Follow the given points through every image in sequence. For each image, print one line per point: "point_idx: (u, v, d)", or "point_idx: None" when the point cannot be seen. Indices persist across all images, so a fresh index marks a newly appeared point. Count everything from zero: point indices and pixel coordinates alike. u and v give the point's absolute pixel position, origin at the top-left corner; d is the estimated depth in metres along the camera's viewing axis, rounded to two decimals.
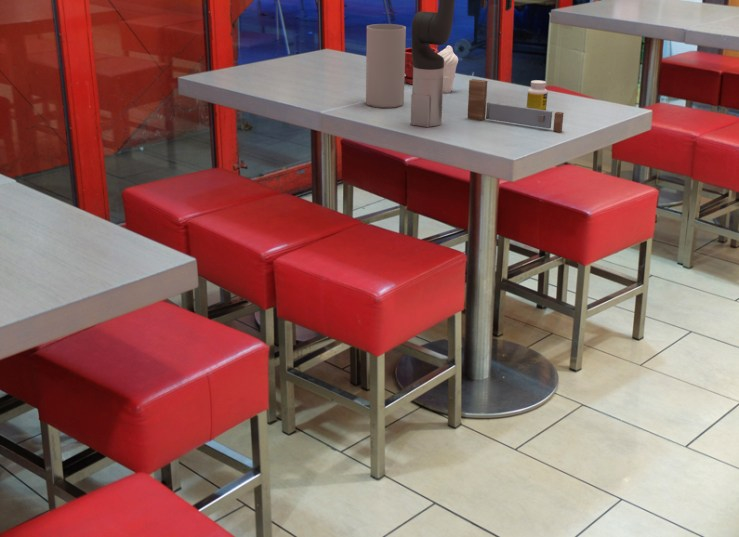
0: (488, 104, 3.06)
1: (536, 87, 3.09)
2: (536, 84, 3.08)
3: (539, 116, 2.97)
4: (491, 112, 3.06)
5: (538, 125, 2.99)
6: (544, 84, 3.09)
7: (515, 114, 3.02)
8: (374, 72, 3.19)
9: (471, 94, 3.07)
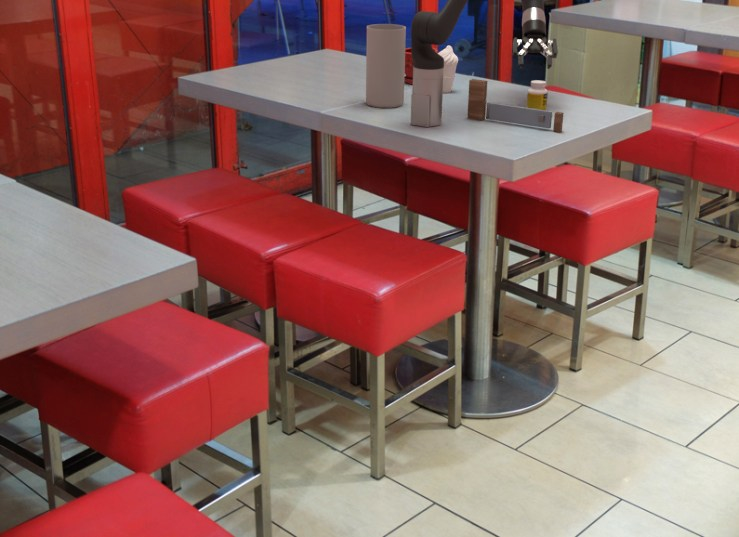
0: (488, 104, 3.06)
1: (536, 87, 3.09)
2: (536, 84, 3.08)
3: (539, 116, 2.97)
4: (491, 112, 3.06)
5: (538, 125, 2.99)
6: (544, 84, 3.09)
7: (515, 114, 3.02)
8: (374, 72, 3.19)
9: (471, 94, 3.07)
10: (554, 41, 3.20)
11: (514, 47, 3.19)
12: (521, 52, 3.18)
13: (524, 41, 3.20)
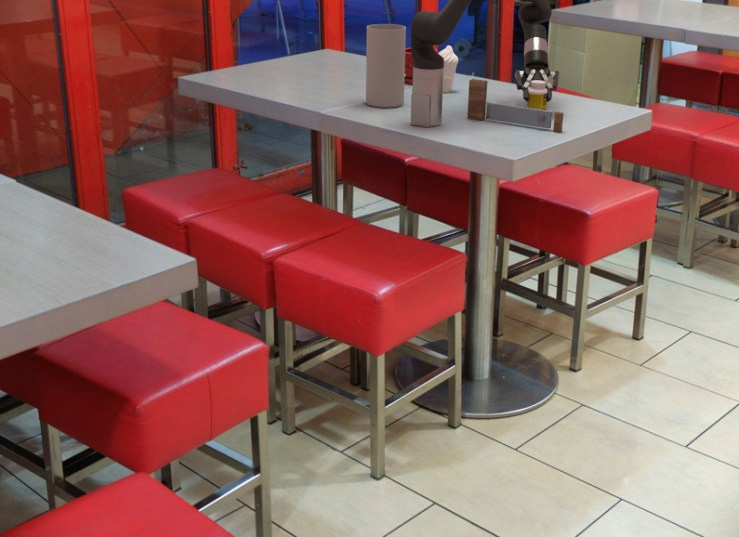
0: (488, 104, 3.06)
1: (536, 87, 3.09)
2: (536, 84, 3.08)
3: (539, 116, 2.97)
4: (491, 112, 3.06)
5: (538, 125, 2.99)
6: (544, 84, 3.09)
7: (515, 114, 3.02)
8: (374, 72, 3.19)
9: (471, 94, 3.07)
10: (556, 73, 3.13)
11: (518, 80, 3.12)
12: (526, 85, 3.12)
13: (526, 72, 3.14)
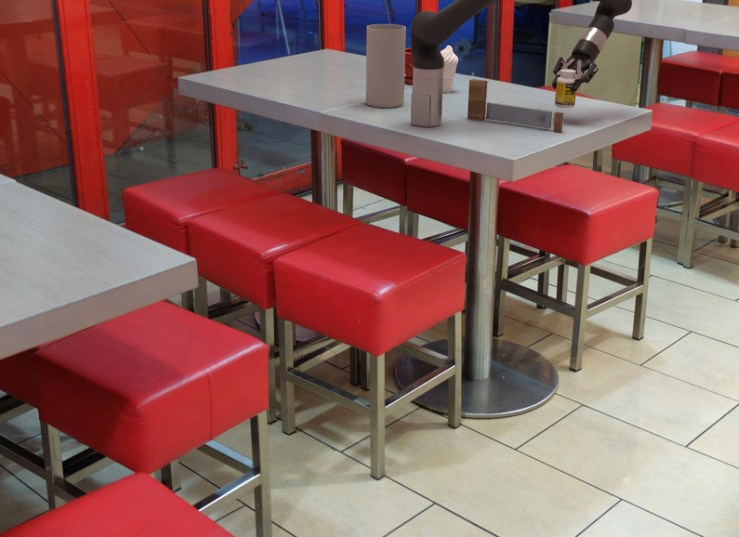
0: (488, 104, 3.06)
1: (561, 75, 3.02)
2: (561, 72, 3.01)
3: (539, 116, 2.97)
4: (491, 112, 3.06)
5: (538, 125, 2.99)
6: (569, 73, 3.00)
7: (515, 114, 3.02)
8: (374, 72, 3.19)
9: (471, 94, 3.07)
10: (592, 66, 3.00)
11: (555, 67, 3.07)
12: (559, 72, 3.05)
13: (568, 60, 3.06)
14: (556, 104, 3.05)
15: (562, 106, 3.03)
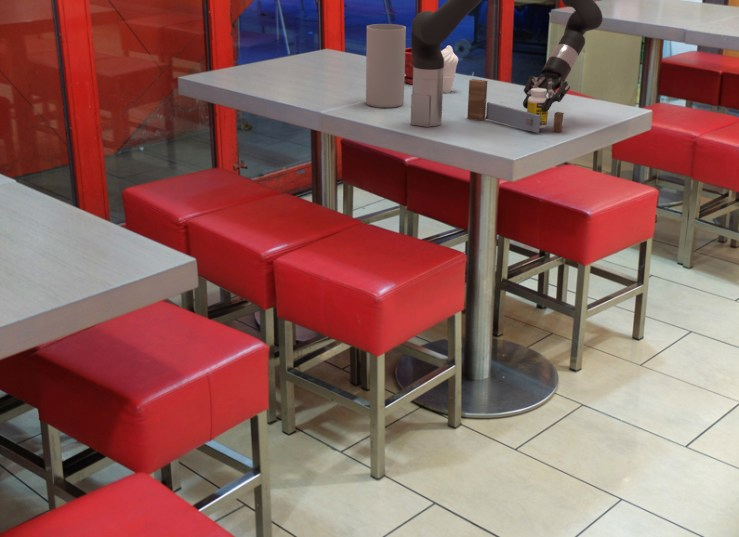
0: (487, 104, 3.06)
1: (532, 95, 2.94)
2: (532, 91, 2.93)
3: (527, 119, 2.93)
4: (490, 112, 3.06)
5: (527, 128, 2.95)
6: (540, 93, 2.92)
7: (508, 116, 3.00)
8: (374, 72, 3.19)
9: (471, 94, 3.07)
10: (563, 84, 2.91)
11: (526, 85, 2.99)
12: (530, 91, 2.97)
13: (538, 79, 2.98)
14: None
15: None
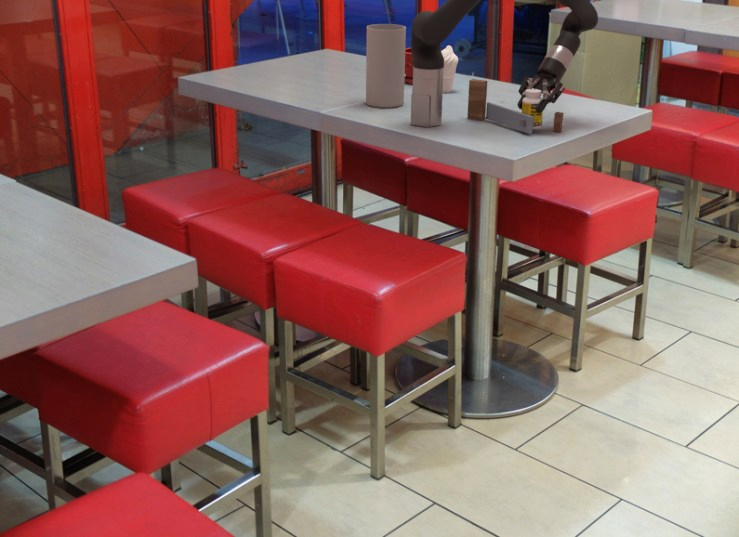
0: (487, 104, 3.06)
1: (526, 95, 2.92)
2: (526, 92, 2.92)
3: (520, 120, 2.92)
4: (489, 112, 3.06)
5: (521, 129, 2.94)
6: (534, 93, 2.91)
7: (505, 116, 2.99)
8: (374, 72, 3.19)
9: (471, 94, 3.07)
10: (558, 85, 2.90)
11: (521, 86, 2.98)
12: (524, 92, 2.96)
13: (533, 79, 2.97)
14: None
15: None
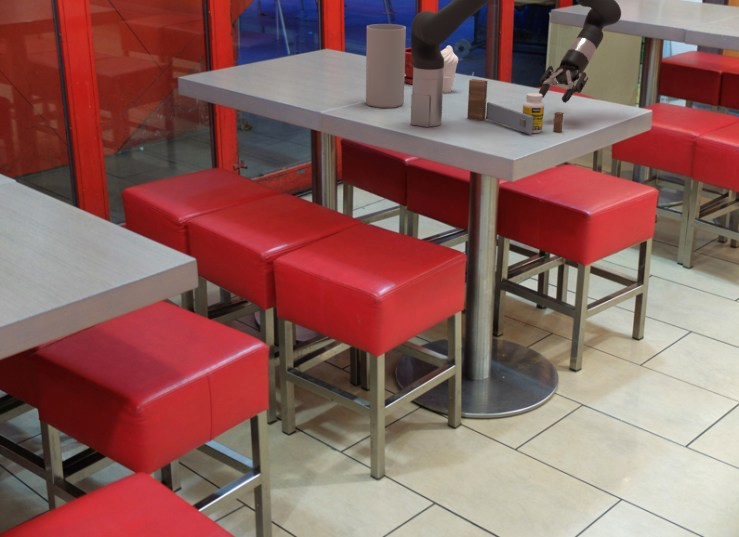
0: (487, 104, 3.06)
1: (527, 99, 2.93)
2: (527, 96, 2.92)
3: (520, 120, 2.92)
4: (489, 112, 3.06)
5: (521, 129, 2.94)
6: (535, 97, 2.91)
7: (505, 116, 2.99)
8: (374, 72, 3.19)
9: (471, 94, 3.07)
10: (582, 75, 2.97)
11: (543, 75, 3.05)
12: (546, 81, 3.03)
13: (556, 71, 3.04)
14: None
15: None
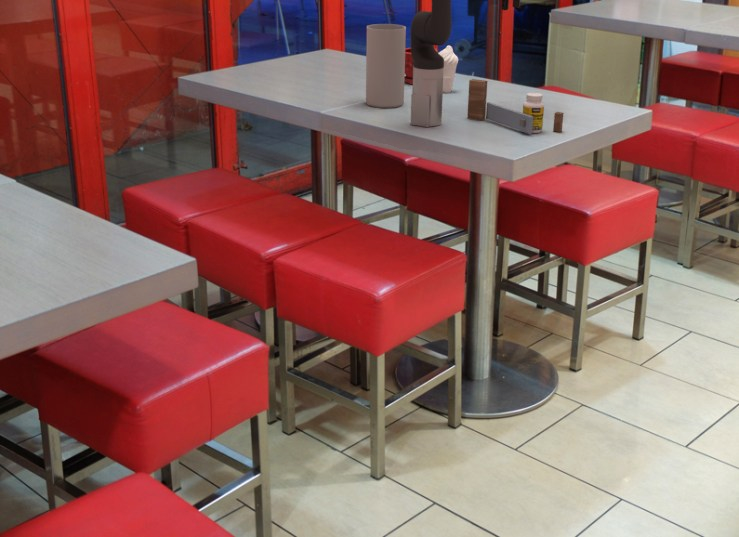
0: (487, 104, 3.06)
1: (527, 99, 2.93)
2: (527, 96, 2.92)
3: (520, 120, 2.92)
4: (489, 112, 3.06)
5: (521, 129, 2.94)
6: (535, 97, 2.91)
7: (505, 116, 2.99)
8: (374, 72, 3.19)
9: (471, 94, 3.07)
10: None
11: None
12: None
13: None
14: None
15: None
